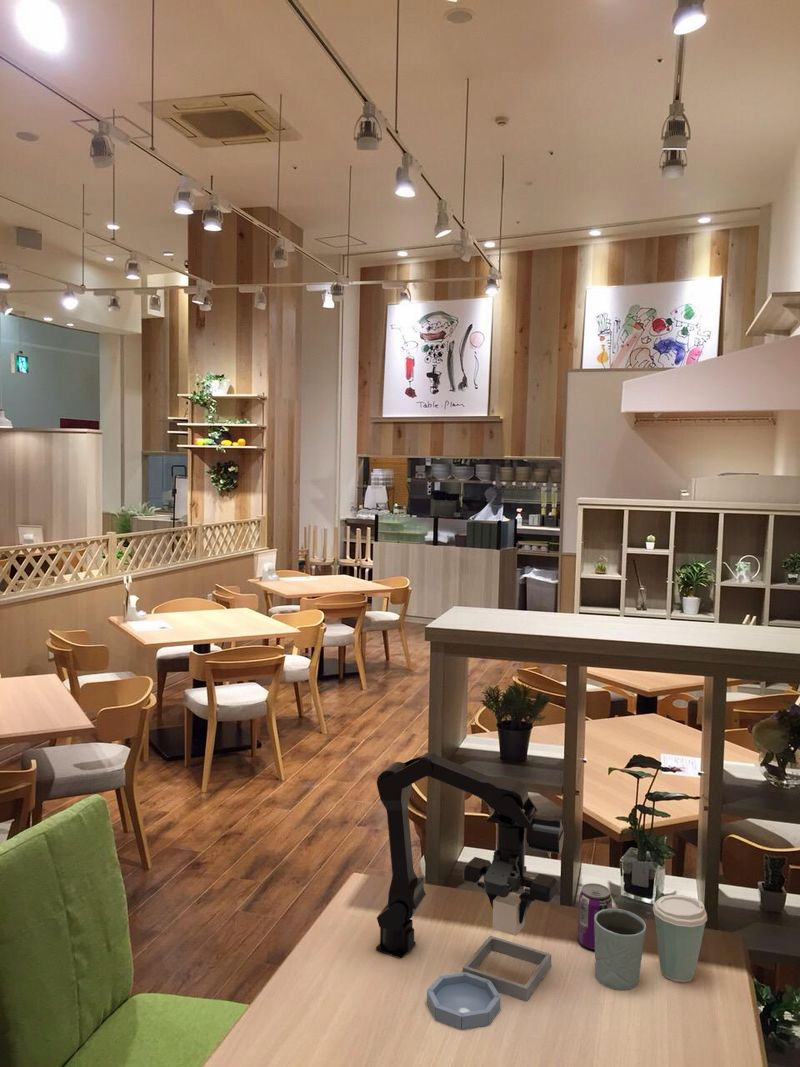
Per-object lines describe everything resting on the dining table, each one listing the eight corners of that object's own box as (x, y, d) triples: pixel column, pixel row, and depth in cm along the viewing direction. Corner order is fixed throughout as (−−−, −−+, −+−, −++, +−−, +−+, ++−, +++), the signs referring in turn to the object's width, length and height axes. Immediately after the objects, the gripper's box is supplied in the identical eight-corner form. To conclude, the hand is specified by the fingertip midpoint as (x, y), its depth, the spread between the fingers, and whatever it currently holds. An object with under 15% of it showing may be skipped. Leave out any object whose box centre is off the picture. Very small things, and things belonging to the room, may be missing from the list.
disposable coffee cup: (646, 980, 170) (648, 908, 169) (654, 953, 179) (656, 885, 178) (702, 994, 165) (704, 921, 164) (707, 966, 175) (709, 896, 174)
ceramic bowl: (417, 1013, 158) (417, 1000, 158) (448, 978, 169) (448, 966, 169) (480, 1036, 152) (480, 1023, 152) (508, 998, 163) (508, 986, 163)
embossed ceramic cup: (591, 961, 176) (593, 905, 176) (641, 966, 174) (643, 911, 174) (593, 989, 166) (595, 931, 166) (646, 996, 165) (648, 937, 164)
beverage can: (611, 954, 179) (613, 899, 178) (577, 950, 180) (579, 896, 179) (610, 936, 186) (611, 884, 185) (577, 932, 187) (578, 880, 186)
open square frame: (462, 979, 169) (462, 967, 169) (489, 946, 181) (490, 935, 181) (526, 1001, 162) (527, 989, 162) (551, 966, 174) (551, 954, 174)
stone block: (492, 928, 170) (493, 900, 170) (502, 917, 174) (502, 889, 174) (515, 935, 168) (516, 906, 167) (524, 924, 172) (525, 896, 172)
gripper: (451, 849, 168) (450, 924, 169) (540, 871, 158) (538, 951, 159) (475, 829, 177) (473, 900, 178) (560, 849, 168) (557, 925, 169)
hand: (508, 919), depth 171 cm, fingers closed on stone block, 5 cm apart
